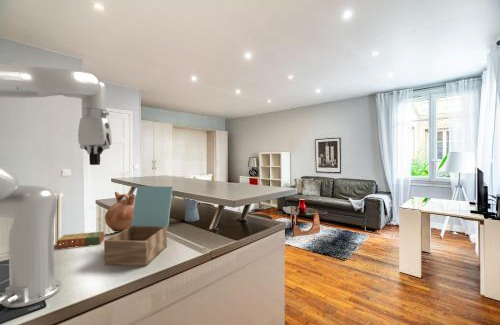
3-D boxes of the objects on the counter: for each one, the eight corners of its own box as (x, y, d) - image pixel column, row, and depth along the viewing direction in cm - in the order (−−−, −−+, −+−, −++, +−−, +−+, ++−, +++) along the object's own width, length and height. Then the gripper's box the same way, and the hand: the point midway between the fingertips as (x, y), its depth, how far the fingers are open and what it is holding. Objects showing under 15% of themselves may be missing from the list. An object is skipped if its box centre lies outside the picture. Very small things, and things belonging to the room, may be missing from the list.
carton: (64, 243, 107) (64, 234, 107) (104, 239, 113) (104, 230, 113) (56, 250, 99) (56, 240, 99) (99, 245, 105) (99, 236, 105)
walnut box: (146, 266, 85) (146, 242, 85) (104, 264, 86) (104, 240, 86) (166, 246, 103) (166, 226, 103) (132, 245, 104) (131, 225, 104)
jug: (97, 230, 124) (96, 193, 124) (128, 222, 140) (128, 189, 140) (118, 236, 116) (118, 196, 115) (149, 226, 132) (149, 191, 131)
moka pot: (177, 221, 142) (177, 189, 142) (196, 216, 155) (196, 186, 155) (187, 224, 137) (187, 190, 136) (206, 218, 150) (206, 187, 149)
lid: (172, 186, 108) (173, 187, 109) (137, 186, 109) (139, 186, 110) (167, 226, 103) (169, 226, 105) (131, 225, 104) (133, 225, 105)
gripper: (120, 116, 89) (120, 164, 89) (82, 116, 90) (83, 164, 90) (106, 113, 81) (107, 165, 82) (66, 113, 82) (67, 165, 83)
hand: (94, 164), depth 86 cm, fingers closed
